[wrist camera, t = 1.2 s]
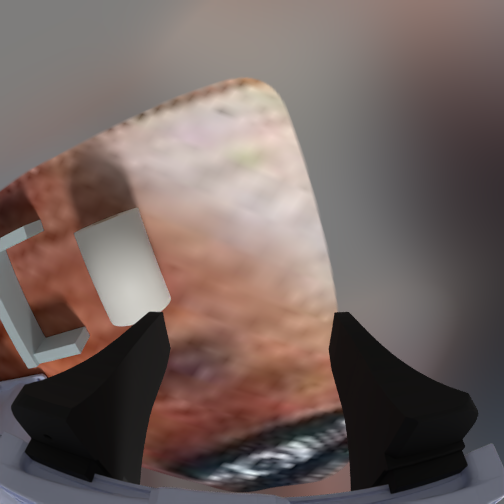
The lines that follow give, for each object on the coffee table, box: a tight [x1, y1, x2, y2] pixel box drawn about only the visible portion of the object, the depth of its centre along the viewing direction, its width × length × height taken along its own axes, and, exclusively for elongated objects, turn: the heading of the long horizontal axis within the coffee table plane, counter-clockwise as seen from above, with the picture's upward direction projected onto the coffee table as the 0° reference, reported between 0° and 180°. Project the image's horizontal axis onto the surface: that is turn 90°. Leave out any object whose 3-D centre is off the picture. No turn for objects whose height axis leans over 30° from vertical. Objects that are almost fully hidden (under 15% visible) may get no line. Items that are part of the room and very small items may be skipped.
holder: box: [0, 220, 90, 369], centre depth 21 cm, size 6×11×4 cm, turn 15°
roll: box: [74, 208, 171, 326], centre depth 21 cm, size 5×7×5 cm
